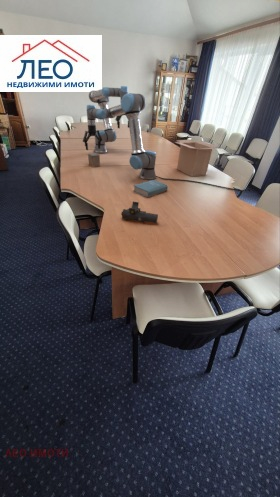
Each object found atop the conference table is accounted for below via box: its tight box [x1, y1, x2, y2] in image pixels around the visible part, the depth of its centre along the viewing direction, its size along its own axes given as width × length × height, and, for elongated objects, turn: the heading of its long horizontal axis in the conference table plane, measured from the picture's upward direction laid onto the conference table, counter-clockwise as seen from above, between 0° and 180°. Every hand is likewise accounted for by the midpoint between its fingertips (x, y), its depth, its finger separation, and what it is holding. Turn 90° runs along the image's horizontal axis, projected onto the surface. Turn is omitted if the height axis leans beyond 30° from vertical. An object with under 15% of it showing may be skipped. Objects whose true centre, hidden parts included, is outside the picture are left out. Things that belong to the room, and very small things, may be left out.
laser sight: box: [120, 201, 159, 224], centre depth 136 cm, size 10×22×10 cm, turn 78°
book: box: [133, 179, 169, 198], centre depth 177 cm, size 23×16×5 cm
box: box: [174, 139, 219, 177], centre depth 219 cm, size 44×36×27 cm
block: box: [87, 152, 101, 168], centre depth 222 cm, size 8×8×11 cm
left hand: (123, 128), depth 240 cm, fingers open, 13 cm apart
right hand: (93, 149), depth 216 cm, fingers open, 13 cm apart
